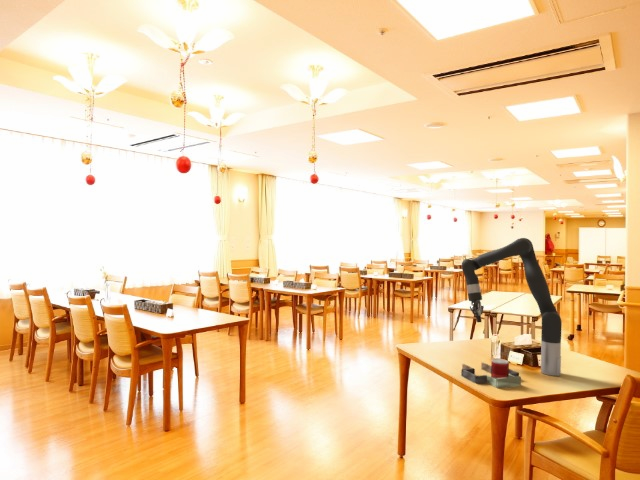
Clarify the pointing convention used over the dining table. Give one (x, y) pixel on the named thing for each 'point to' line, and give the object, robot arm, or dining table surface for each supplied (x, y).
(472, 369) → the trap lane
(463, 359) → the dining table surface
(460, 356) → the dining table surface
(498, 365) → the canned food
